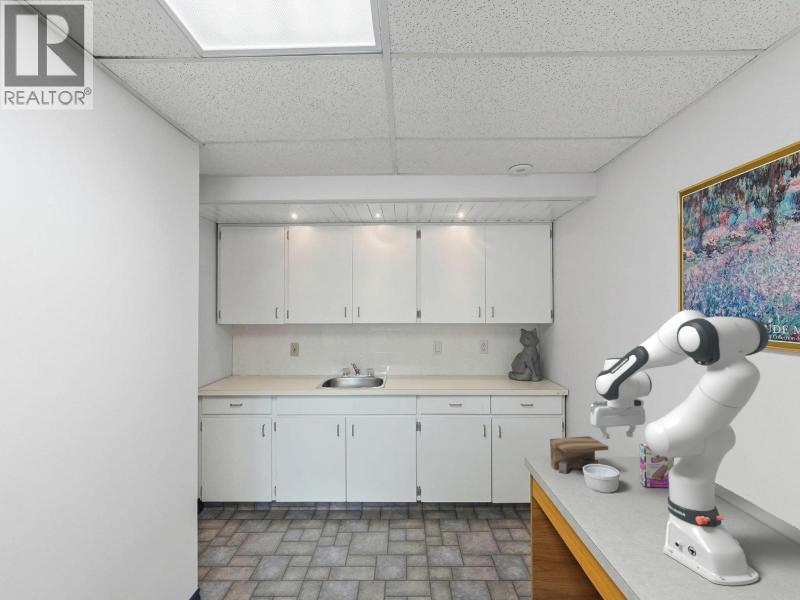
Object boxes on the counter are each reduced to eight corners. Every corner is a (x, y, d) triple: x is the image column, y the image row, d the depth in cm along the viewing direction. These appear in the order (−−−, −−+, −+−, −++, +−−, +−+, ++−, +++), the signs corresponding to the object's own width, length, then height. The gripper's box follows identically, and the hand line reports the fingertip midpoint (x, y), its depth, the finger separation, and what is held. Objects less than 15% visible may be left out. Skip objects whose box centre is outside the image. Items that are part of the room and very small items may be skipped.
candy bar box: (645, 488, 161) (644, 446, 161) (639, 482, 166) (638, 442, 166) (675, 488, 160) (674, 446, 160) (668, 483, 165) (667, 442, 165)
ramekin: (576, 482, 168) (575, 465, 168) (603, 478, 171) (602, 461, 171) (599, 497, 155) (598, 478, 155) (628, 492, 158) (627, 474, 158)
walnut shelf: (609, 475, 173) (608, 446, 173) (567, 479, 171) (566, 449, 171) (590, 463, 187) (589, 436, 187) (550, 466, 185) (550, 438, 185)
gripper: (596, 404, 148) (597, 442, 148) (647, 401, 150) (648, 438, 150) (586, 400, 154) (587, 436, 154) (635, 397, 157) (636, 432, 157)
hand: (618, 437), depth 152 cm, fingers open, 8 cm apart
